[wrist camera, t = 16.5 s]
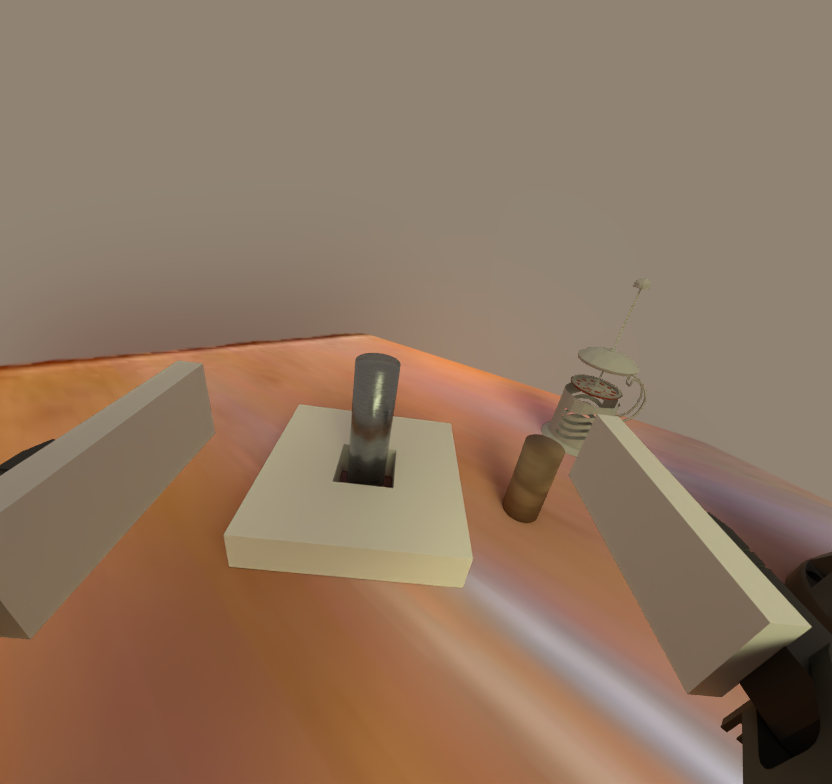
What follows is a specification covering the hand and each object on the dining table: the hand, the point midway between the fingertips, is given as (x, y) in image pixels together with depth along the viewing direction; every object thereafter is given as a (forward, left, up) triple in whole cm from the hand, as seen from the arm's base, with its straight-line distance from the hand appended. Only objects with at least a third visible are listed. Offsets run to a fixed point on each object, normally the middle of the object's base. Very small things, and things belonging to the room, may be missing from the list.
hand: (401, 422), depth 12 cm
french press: (-30, -34, -22) cm, 51 cm away
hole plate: (+2, -18, -22) cm, 29 cm away
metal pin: (+2, -18, -22) cm, 29 cm away
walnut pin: (-16, -18, -22) cm, 33 cm away
